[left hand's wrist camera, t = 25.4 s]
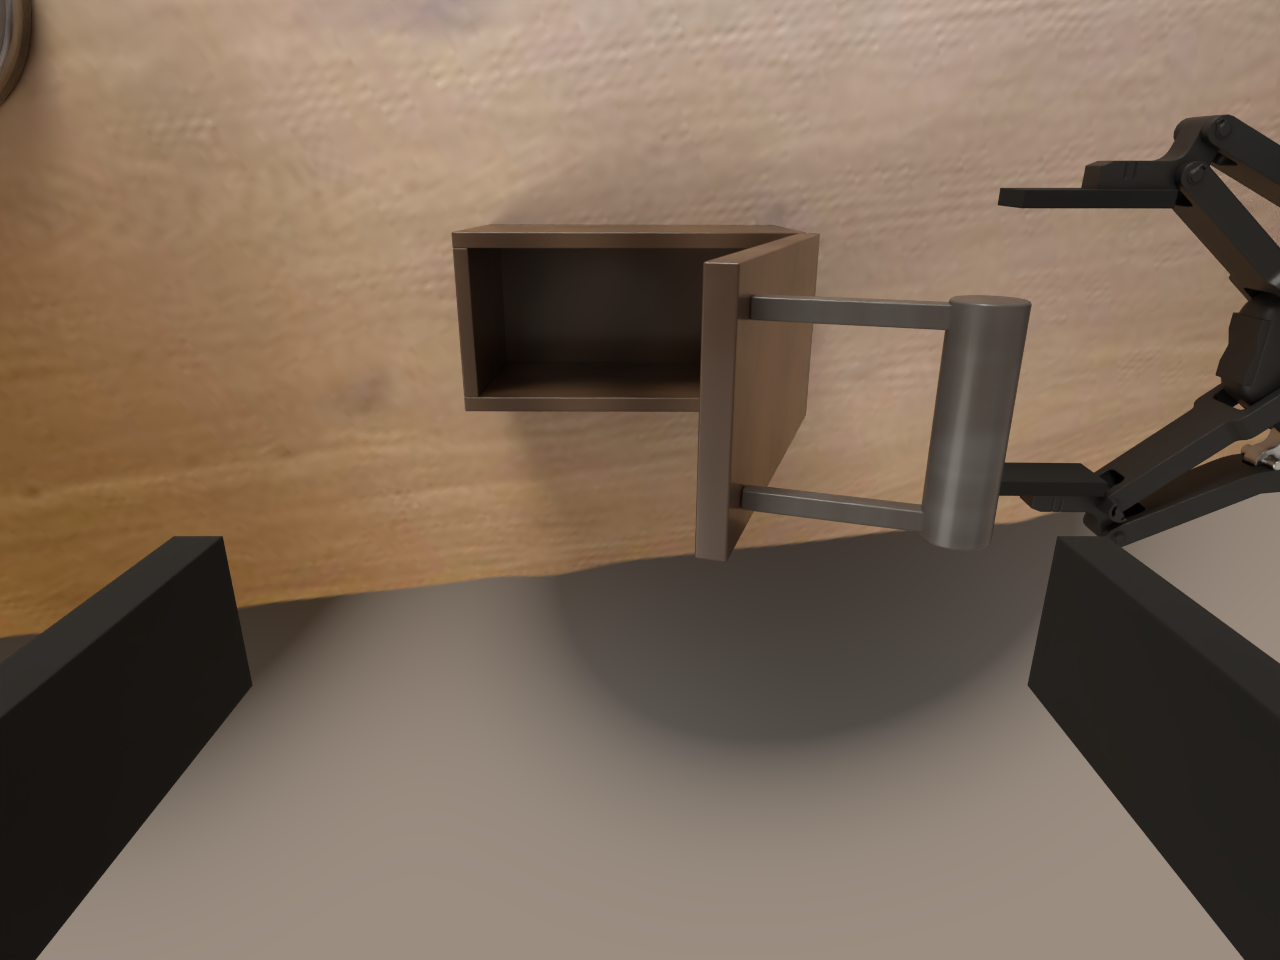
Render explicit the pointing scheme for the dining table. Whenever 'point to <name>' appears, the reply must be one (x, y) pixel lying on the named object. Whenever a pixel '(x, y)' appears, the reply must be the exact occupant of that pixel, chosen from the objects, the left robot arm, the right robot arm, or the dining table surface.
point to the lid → (778, 386)
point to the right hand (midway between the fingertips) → (984, 347)
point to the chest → (587, 313)
